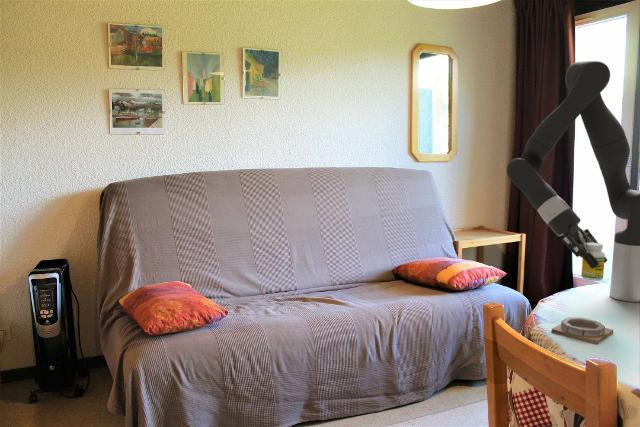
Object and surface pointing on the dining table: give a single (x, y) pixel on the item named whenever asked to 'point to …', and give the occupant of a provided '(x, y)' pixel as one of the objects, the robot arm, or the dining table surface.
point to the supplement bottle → (598, 271)
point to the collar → (583, 329)
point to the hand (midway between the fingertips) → (600, 264)
